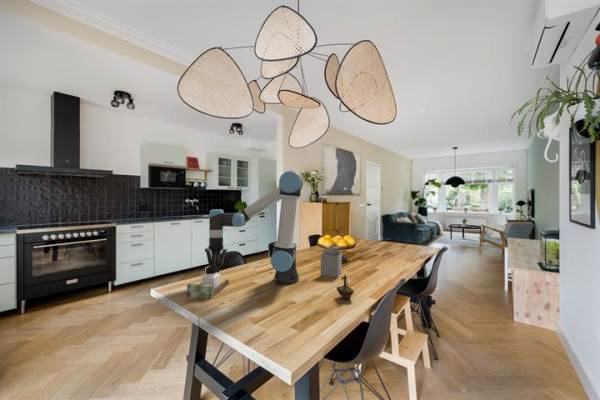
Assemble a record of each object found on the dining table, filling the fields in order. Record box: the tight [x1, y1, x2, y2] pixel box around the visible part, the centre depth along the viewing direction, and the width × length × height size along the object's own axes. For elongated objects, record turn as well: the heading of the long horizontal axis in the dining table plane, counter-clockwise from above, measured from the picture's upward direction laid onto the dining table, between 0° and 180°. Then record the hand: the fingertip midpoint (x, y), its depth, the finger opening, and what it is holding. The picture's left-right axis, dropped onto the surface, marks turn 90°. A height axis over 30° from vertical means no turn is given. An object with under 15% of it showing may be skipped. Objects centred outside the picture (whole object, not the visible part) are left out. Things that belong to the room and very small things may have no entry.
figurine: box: [336, 274, 355, 300], centre depth 120 cm, size 10×8×12 cm
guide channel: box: [186, 279, 230, 299], centre depth 128 cm, size 13×20×6 cm, turn 172°
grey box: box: [320, 244, 343, 279], centre depth 154 cm, size 16×8×19 cm, turn 116°
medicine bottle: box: [201, 265, 221, 289], centre depth 131 cm, size 7×7×12 cm
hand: (215, 277), depth 136 cm, fingers closed
